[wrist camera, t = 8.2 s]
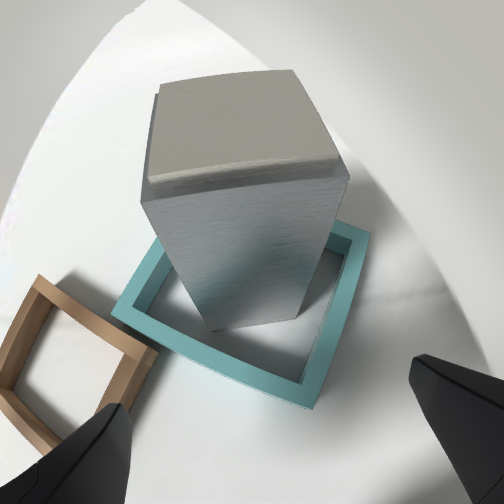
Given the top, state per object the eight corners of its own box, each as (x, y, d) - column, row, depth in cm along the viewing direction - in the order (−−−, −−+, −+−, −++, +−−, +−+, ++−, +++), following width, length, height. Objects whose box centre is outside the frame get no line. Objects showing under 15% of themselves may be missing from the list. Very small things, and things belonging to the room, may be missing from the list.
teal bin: (361, 248, 20) (370, 233, 18) (305, 409, 15) (312, 409, 13) (203, 193, 22) (200, 174, 20) (123, 323, 17) (110, 314, 15)
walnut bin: (158, 353, 16) (147, 346, 15) (96, 481, 12) (79, 487, 10) (53, 285, 18) (38, 273, 17) (1, 393, 14) (-16, 388, 12)
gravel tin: (295, 318, 17) (354, 161, 6) (211, 331, 17) (133, 189, 6) (279, 245, 20) (298, 66, 9) (203, 256, 19) (152, 82, 8)
